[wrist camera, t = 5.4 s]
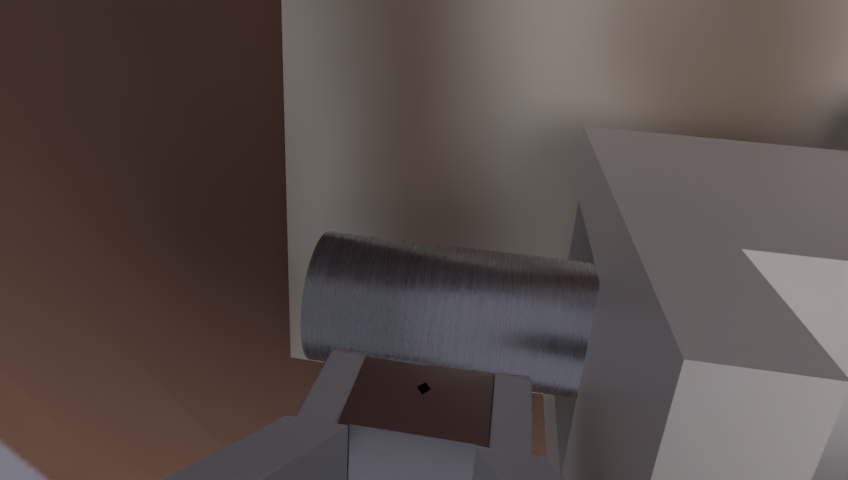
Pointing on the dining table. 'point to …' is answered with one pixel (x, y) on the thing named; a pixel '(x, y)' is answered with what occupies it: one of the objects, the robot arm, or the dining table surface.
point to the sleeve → (708, 311)
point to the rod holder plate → (526, 106)
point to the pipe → (450, 307)
